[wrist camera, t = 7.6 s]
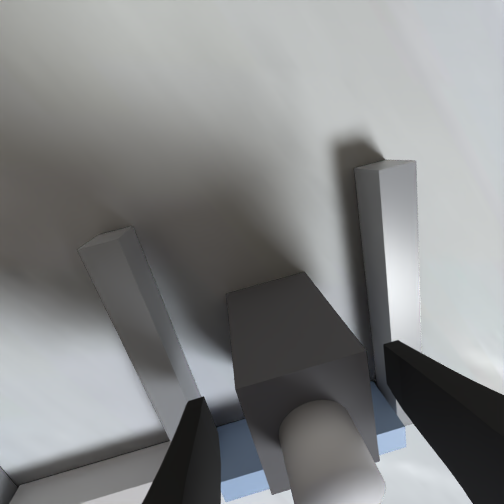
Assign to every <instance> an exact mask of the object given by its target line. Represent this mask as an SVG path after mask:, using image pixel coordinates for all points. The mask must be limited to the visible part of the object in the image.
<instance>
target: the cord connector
mask: <svg viewBox="0 0 504 504" xmlns="http://www.w3.org/2000/svg"><path fill="white" fill-rule="evenodd" d="M226 295H227V306H228V317H229V327H230V338H231V348H232V359H233V369H234V380H235V390H236V393H237V395H238V398H239V401H240V404H241V407H242V410H243V413H244V416H245V418H246V421H247V424H248V427H249V430H250V433H251V436H252V439H253V442H254V444H255V447H256V450H257V453H258V456H259V459H260V462H261V465H262V467H263V470H264V473H265V476H266V479H267V482H268V485H269V488H270V491H271V493H272V495H274V494H277V493H280V492H283V491H286V490H289V489H291V492H292V496H293V500H294V504H381V502H382V500H383V499H384V496H385V492H386V485H385V481H384V479H383V477H382V475H381V473H380V472H379V470H378V468H377V466H376V464H375V462H379V461H380V458H379V450H378V442H377V434H376V426H375V418H374V409H373V401H372V393H371V385H370V377H369V368H368V360H367V352H366V350H365V348H364V347H363V346H362V344H361V343H360V342H359V341H358V339H357V338H356V337H355V336H354V334H353V333H352V332H351V330H350V329H349V328H348V327H347V325H346V324H345V323H344V321H343V320H342V319H341V318H340V316H339V315H338V314H337V313H336V311H335V310H334V309H333V307H332V306H331V305H330V304H329V302H328V301H327V300H326V298H325V297H324V296H323V295H322V293H321V292H320V291H319V290H318V288H317V287H316V286H315V284H314V283H313V282H312V281H311V279H310V278H309V277H308V275H307V274H306V273H305V272H302V273H299V274H295V275H292V276H288V277H285V278H281V279H277V280H274V281H270V282H267V283H263V284H260V285H256V286H252V287H249V288H245V289H242V290H238V291H235V292H231V293H228V294H226Z"/></svg>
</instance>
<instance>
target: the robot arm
mask: <svg viewBox="0 0 504 504" xmlns="http://www.w3.org/2000/svg"><path fill="white" fill-rule="evenodd" d="M383 349H384V360H385V371H386V382H387V385H388V387H389V388H390V390H391V392H392V393H393V395H394V397H395V398H396V400H397V402H398V403H399V405H400V406H401V408H402V409H403V411H404V412H405V413H406V415H407V416H408V417H409V419H410V420H411V421H412V423H413V424H414V425H415V426H416V428H417V429H418V430H419V432H420V433H421V434H422V435H423V437H424V438H425V439H426V441H427V442H428V443H429V444H430V446H431V447H432V448H433V450H434V451H435V452H436V453H437V455H438V456H439V457H440V459H441V460H442V461H443V462H444V464H445V465H446V466H447V468H448V469H449V470H450V471H451V473H452V474H453V476H454V477H455V478H456V480H457V481H458V482H459V484H460V485H461V487H462V488H463V490H464V491H465V493H466V494H467V496H468V497H469V499H470V500H471V502H472V503H473V504H504V395H502V394H500V393H498V392H496V391H493V390H491V389H489V388H487V387H485V386H483V385H481V384H479V383H477V382H475V381H473V380H471V379H469V378H467V377H465V376H463V375H461V374H459V373H457V372H455V371H453V370H451V369H449V368H447V367H446V366H444V365H442V364H440V363H438V362H436V361H435V360H433V359H431V358H429V357H427V356H426V355H424V354H422V353H420V352H419V351H417V350H415V349H413V348H411V347H410V346H408V345H406V344H404V343H403V342H401V341H399V340H396V341H392V342H389V343H386V344H383ZM142 504H221V457H220V444H219V434H218V431H217V428H216V426H215V423H214V421H213V418H212V416H211V413H210V411H209V408H208V406H207V403H206V401H205V398H204V396H203V397H200V398H197V399H193V400H190V401H188V402H187V404H186V406H185V409H184V411H183V414H182V417H181V419H180V422H179V424H178V427H177V429H176V432H175V434H174V436H173V439H172V441H171V443H170V446H169V448H168V450H167V452H166V455H165V457H164V459H163V462H162V464H161V466H160V468H159V470H158V472H157V474H156V476H155V478H154V480H153V482H152V484H151V486H150V488H149V490H148V492H147V494H146V496H145V498H144V500H143V502H142Z"/></svg>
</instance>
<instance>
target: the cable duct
mask: <svg viewBox="0 0 504 504" xmlns="http://www.w3.org/2000/svg"><path fill="white" fill-rule="evenodd" d="M354 172H355V182H356V192H357V201H358V211H359V220H360V230H361V239H362V249H363V259H364V268H365V278H366V287H367V297H368V306H369V316H370V326H371V335H372V345H373V354H374V364H375V373H376V383H377V386H376V385H375V383H374V382H373V381H372V382H370V385H371V393H372V401H373V409H374V418H375V426H376V434H377V442H378V450H379V455H381V454H385V453H388V452H391V451H394V450H398V449H401V448H404V447H406V434H405V426H407V425H410V424H413V423H412V421H411V420H410V419H409V417H408V416H407V415H406V413H405V412H404V411H403V409H402V408H401V406H400V405H399V403H398V402H397V400H396V398H395V397H394V395H393V393H392V392H391V390H390V388H389V387H388V385H387V382H386V371H385V360H384V349H383V344H386V343H389V342H392V341H396V340H399V341H401V342H403V343H404V344H406V345H408V346H410V347H411V348H413V349H415V350H417V351H419V352H420V353H422V343H421V308H420V273H419V239H418V204H417V170H416V161H412V160H383V161H379V162H375V163H372V164H368V165H364V166H360V167H356V168H354ZM77 251H78V253H79V255H80V257H81V259H82V261H83V263H84V266H85V268H86V270H87V272H88V274H89V276H90V278H91V280H92V282H93V284H94V286H95V288H96V290H97V292H98V294H99V296H100V298H101V300H102V302H103V304H104V306H105V309H106V311H107V313H108V315H109V317H110V319H111V321H112V323H113V325H114V327H115V329H116V331H117V333H118V335H119V337H120V339H121V341H122V343H123V345H124V347H125V349H126V352H127V354H128V356H129V358H130V360H131V362H132V364H133V366H134V368H135V370H136V372H137V374H138V376H139V378H140V380H141V382H142V384H143V386H144V388H145V390H146V392H147V395H148V397H149V399H150V401H151V403H152V405H153V407H154V409H155V411H156V413H157V415H158V417H159V419H160V421H161V423H162V425H163V427H164V429H165V431H166V433H167V435H168V438H169V440H170V441H168V442H165V443H161V444H158V445H155V446H151V447H148V448H144V449H141V450H138V451H134V452H131V453H128V454H124V455H121V456H117V457H114V458H111V459H107V460H104V461H100V462H97V463H94V464H90V465H87V466H83V467H80V468H77V469H73V470H70V471H67V472H63V473H60V474H56V475H53V476H50V477H46V478H43V479H39V480H36V481H33V482H29V483H26V484H22V485H20V486H19V488H17V487H16V485H15V484H14V483H13V482H12V481H11V479H10V478H9V477H8V476H7V475H6V473H5V472H4V471H3V470H2V469H1V467H0V504H142V502H143V500H144V498H145V496H146V494H147V492H148V490H149V488H150V486H151V484H152V482H153V480H154V478H155V476H156V474H157V472H158V470H159V468H160V466H161V464H162V462H163V459H164V457H165V455H166V452H167V450H168V448H169V446H170V443H171V441H172V439H173V436H174V434H175V432H176V429H177V427H178V424H179V422H180V419H181V417H182V414H183V411H184V409H185V406H186V404H187V402H188V401H190V400H193V399H197V398H200V397H201V395H200V393H199V390H198V388H197V385H196V383H195V380H194V378H193V375H192V373H191V370H190V368H189V365H188V363H187V360H186V358H185V355H184V353H183V350H182V348H181V345H180V343H179V340H178V338H177V335H176V333H175V330H174V328H173V325H172V323H171V320H170V318H169V315H168V313H167V310H166V308H165V305H164V303H163V300H162V298H161V295H160V293H159V290H158V288H157V285H156V283H155V280H154V278H153V275H152V273H151V270H150V268H149V265H148V263H147V260H146V258H145V255H144V253H143V250H142V248H141V246H140V243H139V241H138V238H137V236H136V233H135V231H134V228H133V226H131V227H127V228H123V229H119V230H115V231H111V232H108V233H104V234H100V235H97V236H96V237H95V238H93V239H92V240H90V241H89V242H87V243H86V244H84V245H83V246H82V247H80V248H79V249H77ZM217 431H218V434H219V444H220V457H221V492H222V495H223V497H224V499H225V501H226V502H228V501H231V500H235V499H238V498H241V497H244V496H248V495H251V494H254V493H257V492H261V491H264V490H267V489H270V488H269V485H268V482H267V479H266V476H265V473H264V470H263V467H262V465H261V462H260V459H259V456H258V453H257V450H256V447H255V444H254V442H253V439H252V436H251V433H250V430H249V427H248V424H247V421H246V419H243V420H239V421H236V422H233V423H229V424H226V425H222V426H219V427H217Z"/></svg>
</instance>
